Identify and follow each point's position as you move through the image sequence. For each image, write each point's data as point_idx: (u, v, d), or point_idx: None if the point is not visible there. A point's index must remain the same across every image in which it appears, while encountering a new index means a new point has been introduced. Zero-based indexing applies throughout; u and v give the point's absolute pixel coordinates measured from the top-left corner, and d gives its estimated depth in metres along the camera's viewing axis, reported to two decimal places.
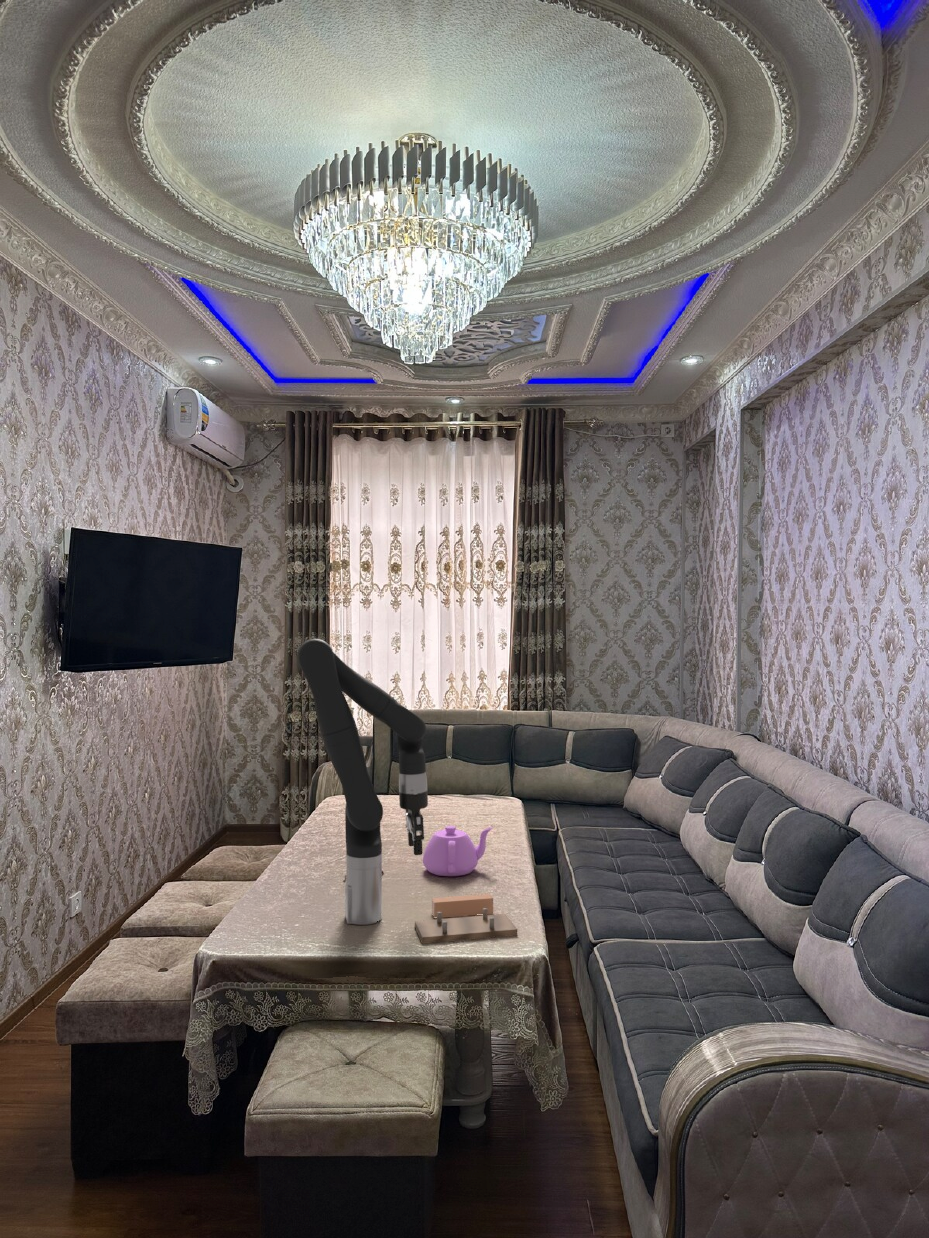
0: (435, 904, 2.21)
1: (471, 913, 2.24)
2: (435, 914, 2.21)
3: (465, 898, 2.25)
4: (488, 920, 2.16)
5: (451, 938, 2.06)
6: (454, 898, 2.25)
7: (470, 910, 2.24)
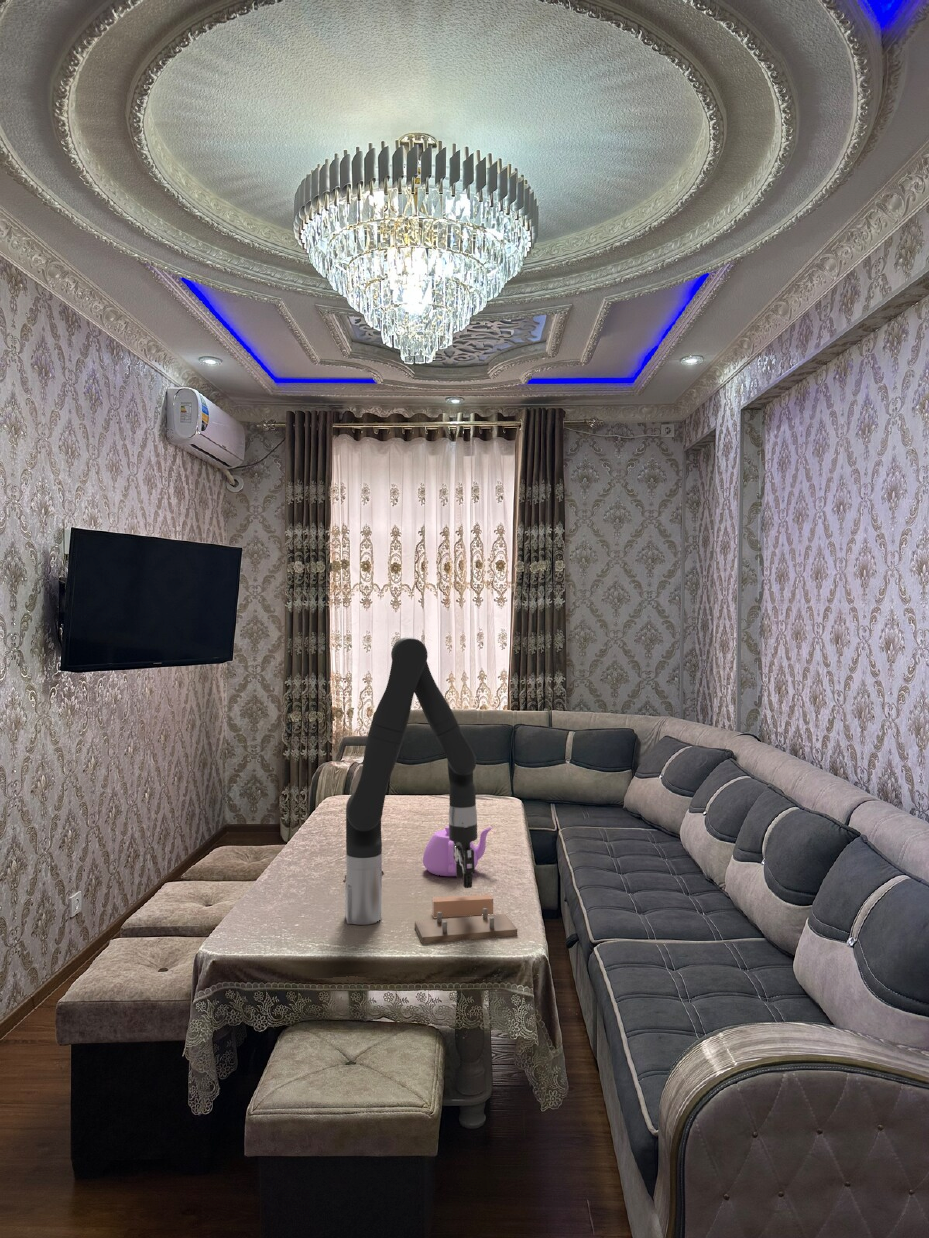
0: (434, 903, 2.22)
1: (471, 913, 2.24)
2: (434, 913, 2.22)
3: (465, 898, 2.25)
4: (488, 920, 2.16)
5: (451, 938, 2.06)
6: (454, 898, 2.25)
7: (470, 910, 2.24)
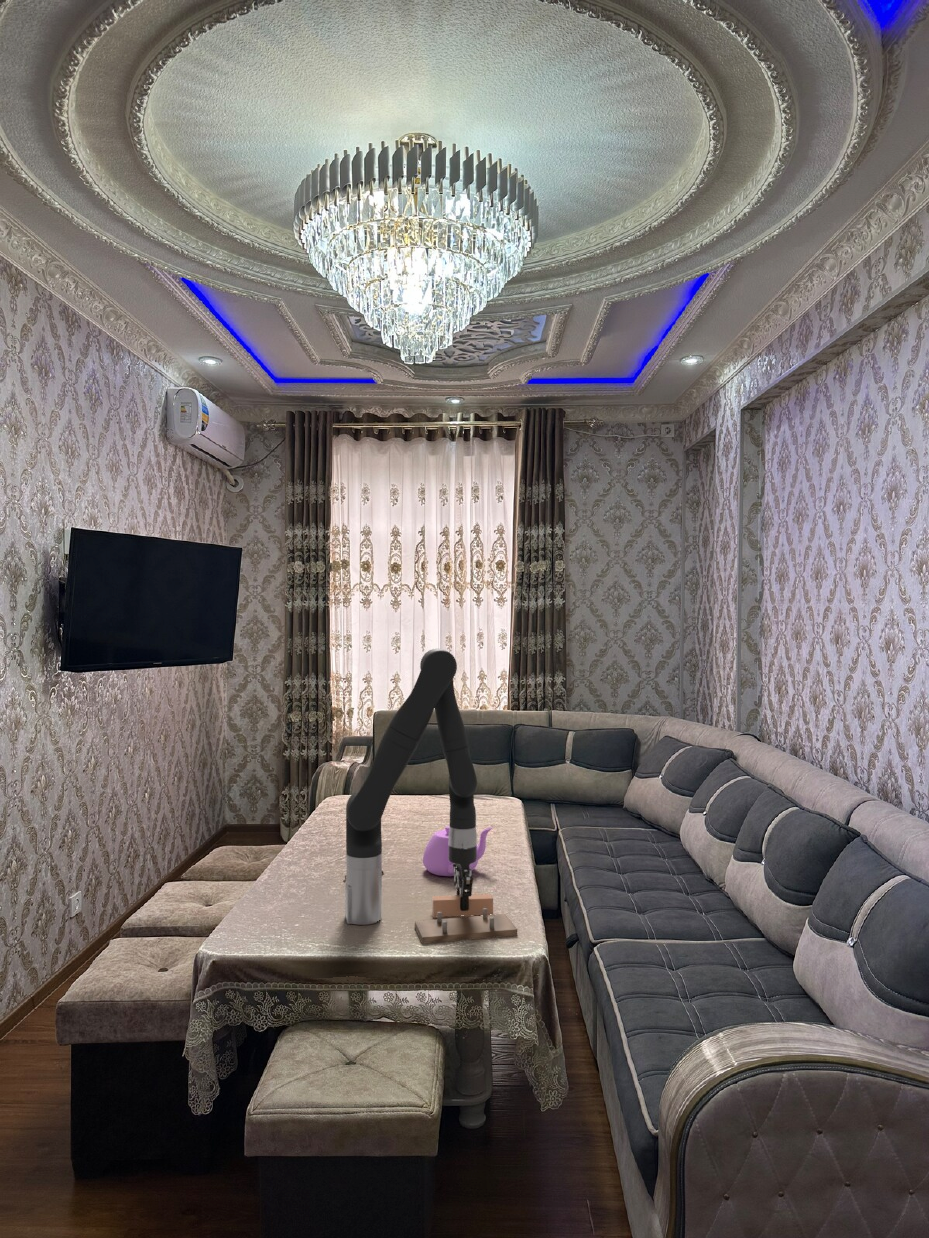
0: (433, 902, 2.22)
1: (471, 912, 2.24)
2: (434, 912, 2.22)
3: None
4: (488, 920, 2.16)
5: (451, 938, 2.06)
6: (454, 897, 2.25)
7: (470, 909, 2.23)
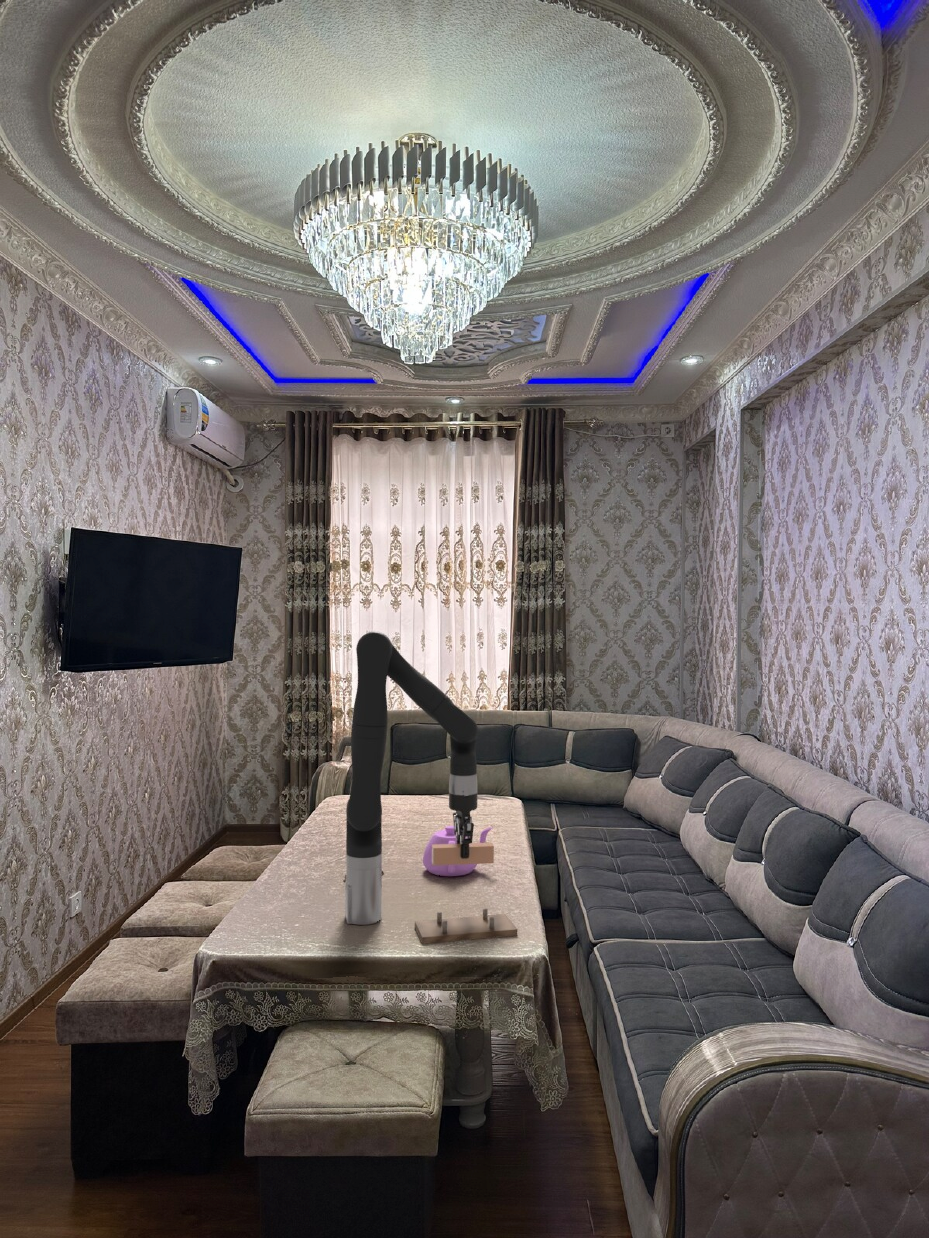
0: (434, 849, 2.20)
1: (471, 860, 2.22)
2: (434, 860, 2.20)
3: None
4: (488, 920, 2.16)
5: (451, 938, 2.06)
6: (454, 845, 2.23)
7: (470, 857, 2.22)
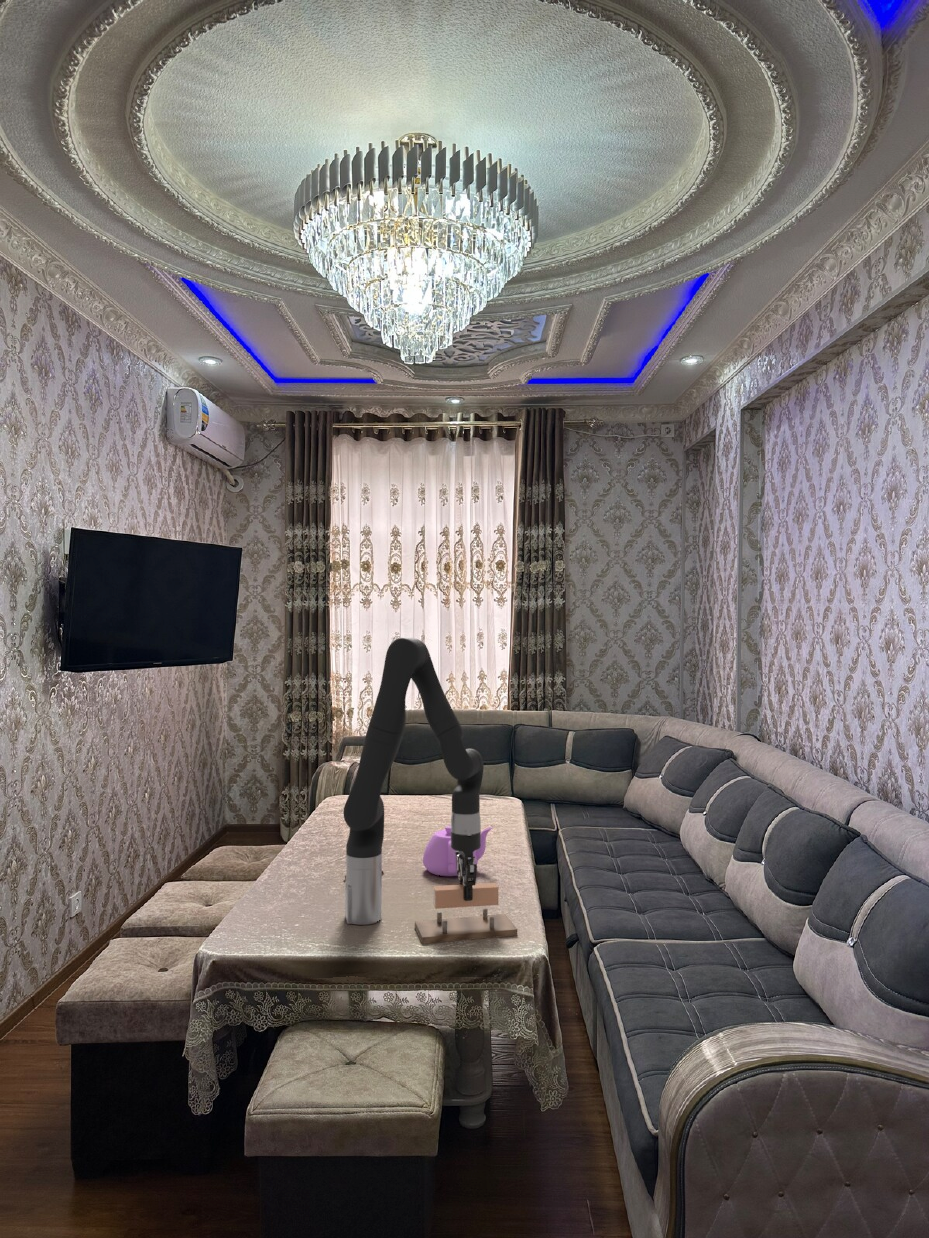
0: (436, 892, 2.10)
1: (475, 903, 2.11)
2: (436, 903, 2.10)
3: None
4: (488, 920, 2.16)
5: (451, 938, 2.06)
6: (457, 886, 2.13)
7: (474, 899, 2.11)
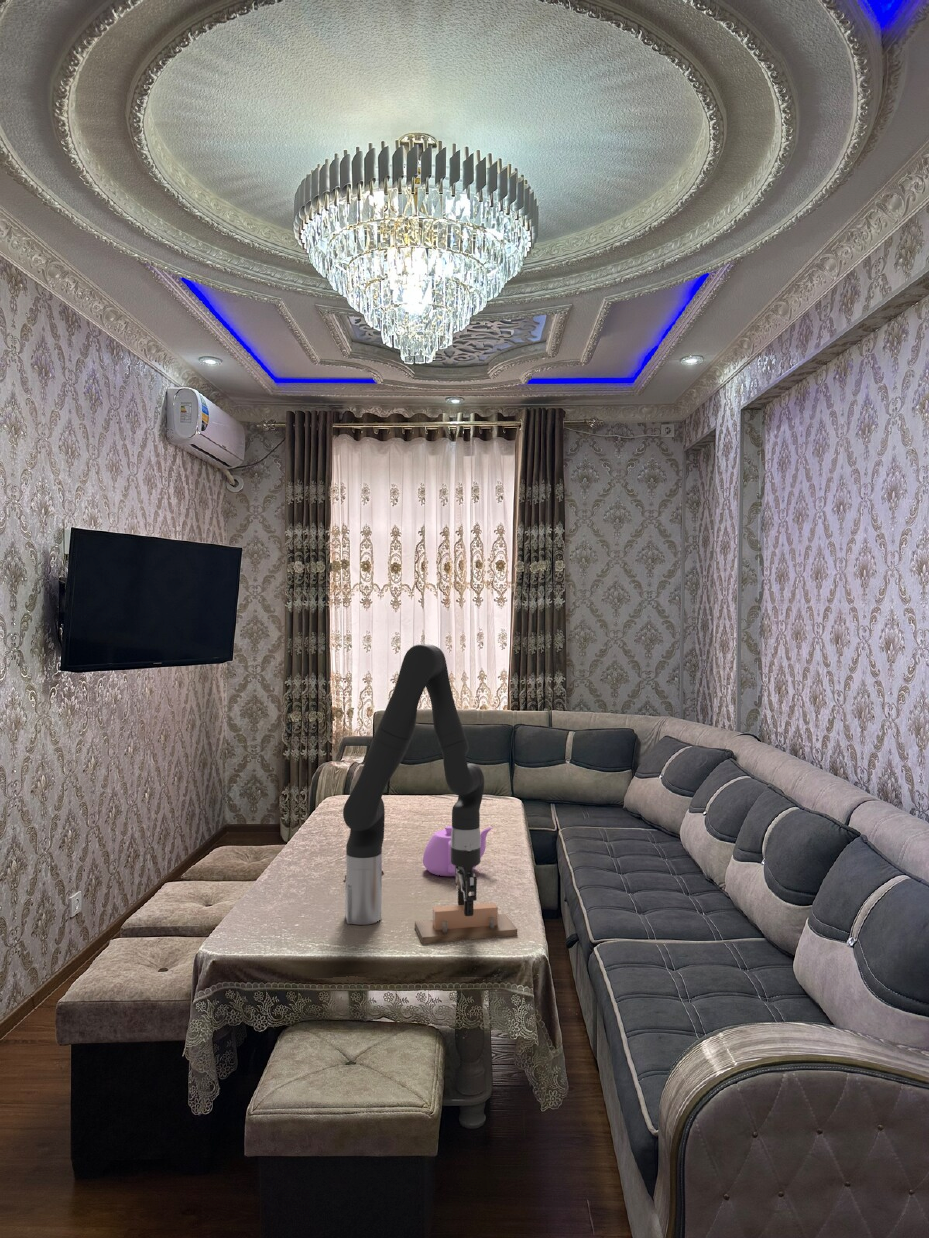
0: (435, 913, 2.10)
1: (474, 923, 2.12)
2: (436, 924, 2.10)
3: None
4: None
5: (451, 938, 2.06)
6: (456, 907, 2.13)
7: (473, 920, 2.12)
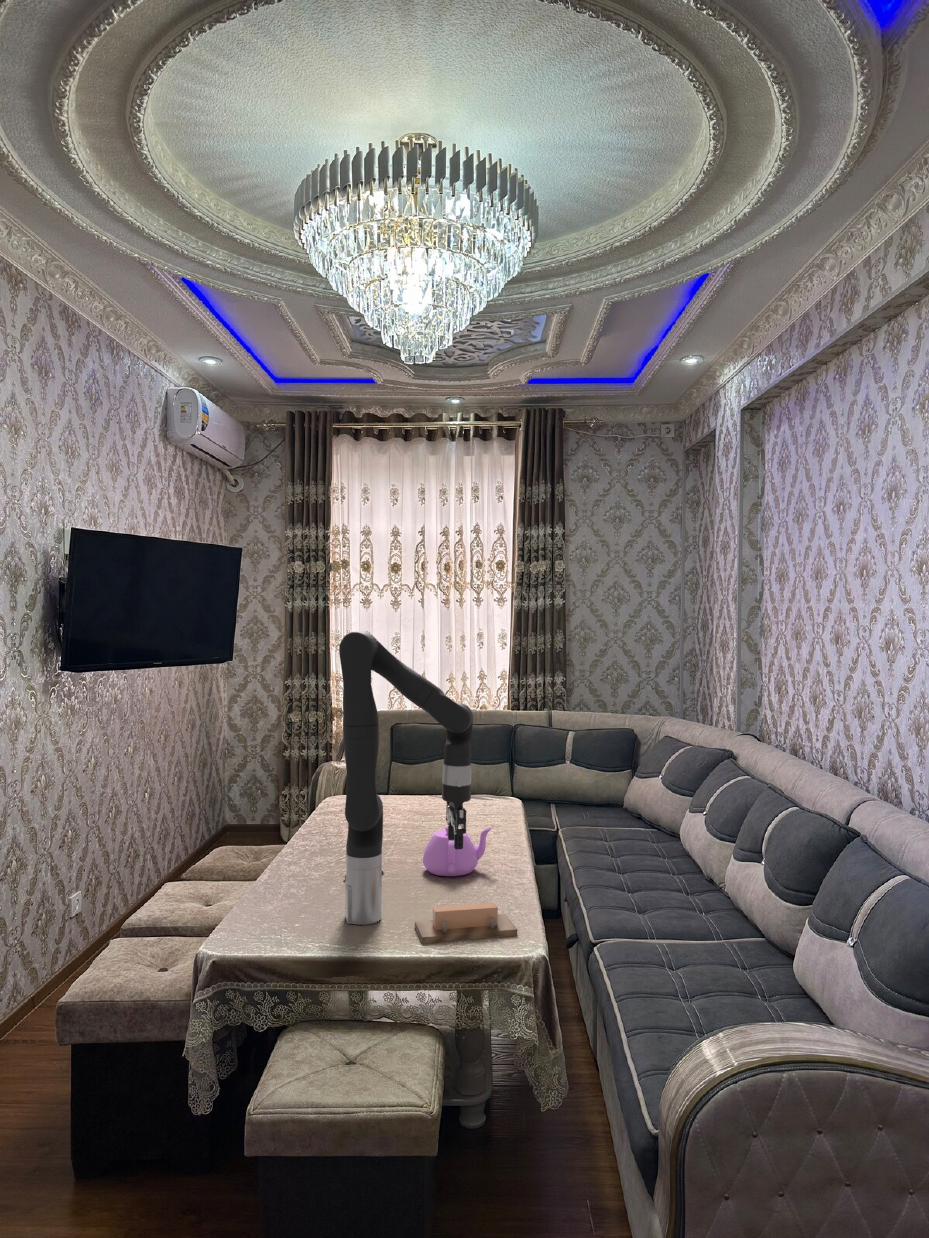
0: (435, 913, 2.10)
1: (474, 923, 2.12)
2: (436, 924, 2.10)
3: (468, 907, 2.13)
4: None
5: (451, 938, 2.06)
6: (456, 907, 2.13)
7: (473, 920, 2.12)
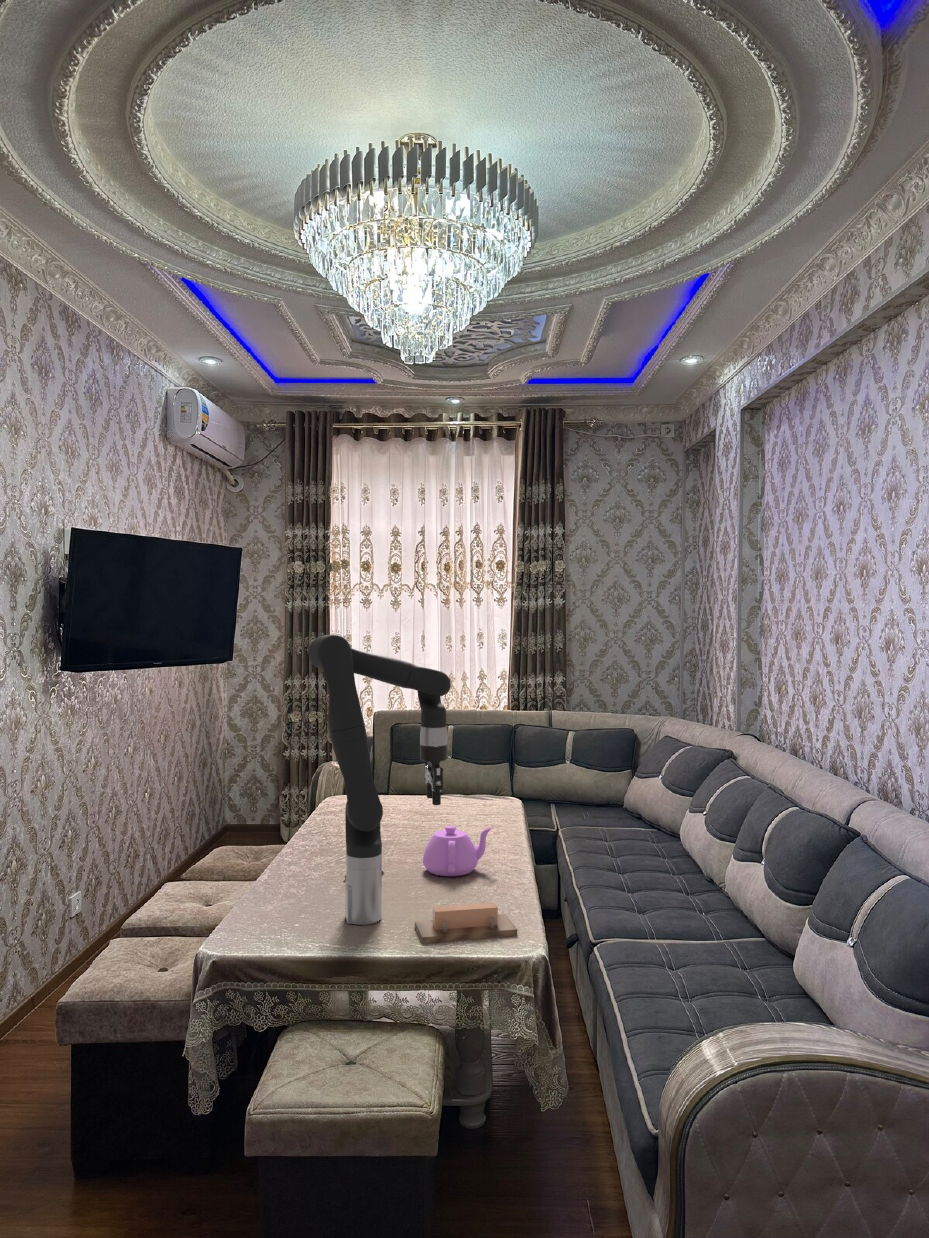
0: (435, 913, 2.10)
1: (474, 923, 2.12)
2: (436, 924, 2.10)
3: (468, 907, 2.13)
4: None
5: (451, 938, 2.06)
6: (456, 907, 2.13)
7: (473, 920, 2.12)
